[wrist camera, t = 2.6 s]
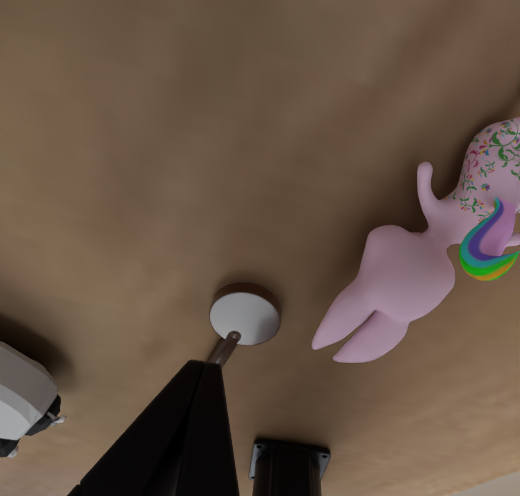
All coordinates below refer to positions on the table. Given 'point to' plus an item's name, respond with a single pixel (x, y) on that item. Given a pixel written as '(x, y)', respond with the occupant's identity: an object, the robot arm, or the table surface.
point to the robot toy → (24, 399)
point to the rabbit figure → (431, 249)
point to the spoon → (243, 318)
